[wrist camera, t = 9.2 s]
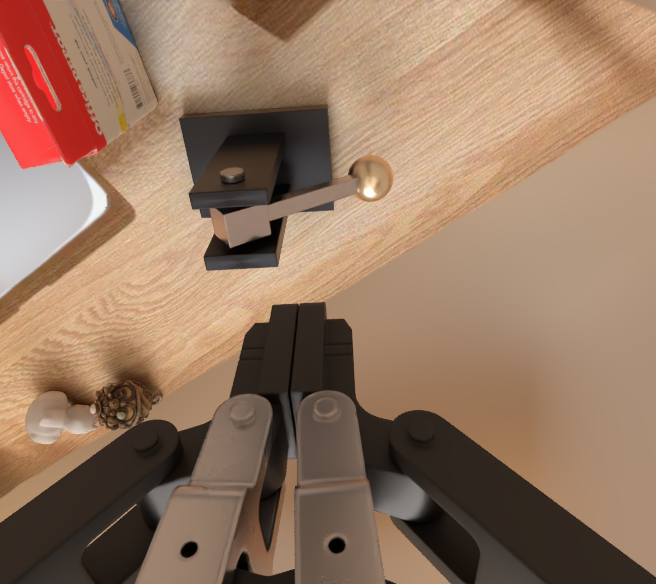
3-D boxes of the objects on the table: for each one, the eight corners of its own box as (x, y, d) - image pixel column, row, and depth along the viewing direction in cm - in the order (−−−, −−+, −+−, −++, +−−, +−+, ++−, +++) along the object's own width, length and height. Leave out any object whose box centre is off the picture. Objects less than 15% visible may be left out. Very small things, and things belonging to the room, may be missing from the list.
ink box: (44, -7, 33) (-130, 2, 20) (112, -25, 32) (-26, -27, 20) (102, 121, 37) (-12, 191, 25) (162, 107, 37) (76, 172, 24)
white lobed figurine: (20, 439, 52) (100, 444, 56) (17, 445, 47) (106, 450, 50) (33, 388, 54) (110, 396, 57) (32, 388, 48) (117, 397, 52)
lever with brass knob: (374, 146, 35) (403, 156, 33) (374, 188, 37) (402, 200, 34) (203, 192, 29) (224, 208, 27) (213, 240, 31) (234, 258, 29)
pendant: (74, 405, 50) (91, 373, 48) (143, 394, 56) (161, 365, 54) (91, 446, 47) (109, 414, 45) (160, 430, 53) (180, 402, 51)
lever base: (327, 104, 36) (324, 157, 26) (333, 204, 41) (334, 285, 30) (183, 114, 37) (121, 170, 26) (204, 211, 41) (159, 294, 30)
